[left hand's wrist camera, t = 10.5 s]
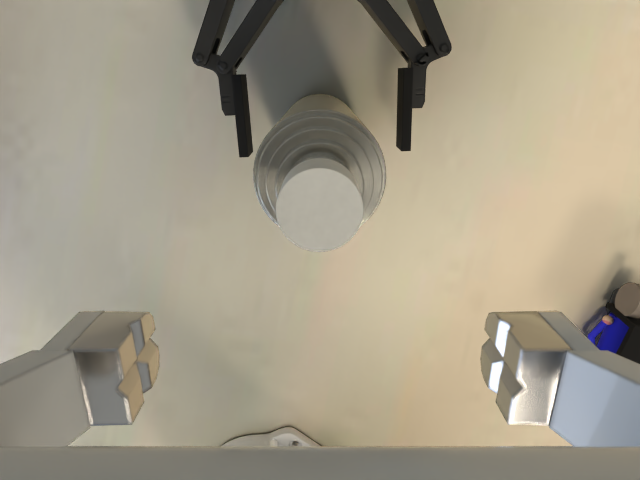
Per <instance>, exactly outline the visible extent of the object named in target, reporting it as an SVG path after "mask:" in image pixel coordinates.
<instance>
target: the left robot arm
mask: <svg viewBox="0 0 640 480" xmlns="http://www.w3.org/2000/svg"><path fill="white" fill-rule="evenodd" d="M154 331H155V324H154V319H153V316H152V315H151V313H150V312H123V311H106V312H105V311H83V312H79V313H78V314H77V315H76V316H75V317H74V318H73V319H72V320H71V321H70V322H69V323H67V324H66V325H65V326H64V327H63V328H62V329H61V330H60V331H59V332H58V333H57V334H56V335H55V336H54V337H53V338H52V339H51V340H50V341H49V342H48V343H47V344H46V345H45V346H44V347H43V348H42V349H41V350H32V351H30V352H28V353H25V354H23V355H21V356H18V357H16V358H14V359H11V360H9V361H6V362H4V363H2V364H0V480H640V364H638V363H636V362H633V361H631V360H629V359H626V358H624V357H622V356H619V355H617V354H615V353H612V352H610V351H608V350H599V349H598V348H597V347H596V346H595V345H594V344H593V343H592V342H591V341H590V340H589V339H588V338H587V337H586V336H585V335H584V334H583V333H582V332H581V331H580V330H579V329H578V328H577V327H576V326H575V325H574V324H573V323H572V322H571V321H570V320H569V319H568V318H566V317H565V316H564V315H563V314H562V313H561V312H558V311H525V312H492V313H489V314H488V316H487V319H486V324H485V331H486V332H487V334H488V336H489V337H490V338H489V339H488V340H487V342H486V343H485V344H484V345H483V346H482V350H481V370H482V374H483V378H484V381H485V383H486V384H487V386H488V388H489V389H491V390H492V391H494V392H495V393H497V398H496V403H497V405H498V407H499V409H500V411H501V412H502V414H503V416H504V418H505V420H506V422H507V423H508V425H543V426H550V427H549V428H551V429H552V430H553V431H554V432H556V433H557V434H558V435H560V436H561V437H562V438H564V439H565V440H566V441H567V442H569V443H570V444H571V445H573V446H320V445H319V444H317V443H316V442H314V441H313V440H311V439H310V438H308V437H307V436H305V435H304V434H302V433H301V432H299V431H298V430H296V429H294V428H292V427H285V428H281V429H278V430H276V431H274V432H271V433H268V434H259V435H248V436H243V437H239V438H236V439H233V440H231V441H229V442H227V443H225V444H224V445H222V446H68V445H69V444H70V443H71V442H73V441H74V440H75V439H77V438H78V437H79V436H81V435H82V434H83V433H84V432H86V431H87V430H88V429H90V426H97V425H132V424H133V422H134V420H135V418H136V416H137V414H138V413H139V411H140V409H141V407H142V405H143V403H144V398H143V393H145V392H146V391H148V390H149V389H151V388H152V386H153V384H154V382H155V380H156V378H157V374H158V369H159V350H158V346H157V345H156V344H155V343H154V342H153V340H152V339H151V338H150V337H151V336H152V334H153V332H154ZM294 441H297V442H294Z"/></svg>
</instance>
